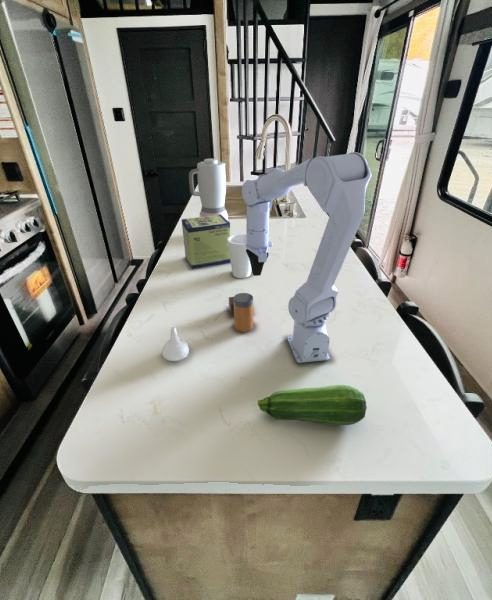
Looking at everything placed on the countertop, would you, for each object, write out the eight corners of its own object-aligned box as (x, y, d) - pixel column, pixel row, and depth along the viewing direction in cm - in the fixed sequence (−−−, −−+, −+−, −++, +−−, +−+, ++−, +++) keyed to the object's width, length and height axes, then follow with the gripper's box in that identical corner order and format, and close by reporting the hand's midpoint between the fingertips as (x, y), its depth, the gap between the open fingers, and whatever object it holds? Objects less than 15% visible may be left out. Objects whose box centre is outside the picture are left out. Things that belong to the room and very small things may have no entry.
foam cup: (223, 276, 111) (221, 241, 104) (235, 265, 118) (235, 232, 111) (247, 282, 107) (248, 246, 100) (259, 271, 114) (260, 236, 107)
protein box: (231, 262, 120) (230, 222, 112) (191, 269, 115) (187, 228, 107) (222, 251, 128) (221, 213, 120) (184, 258, 123) (180, 218, 115)
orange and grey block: (227, 307, 90) (232, 289, 81) (244, 304, 91) (251, 286, 82) (236, 336, 86) (242, 322, 77) (253, 333, 87) (261, 318, 78)
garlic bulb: (163, 366, 74) (158, 339, 69) (162, 349, 79) (157, 323, 75) (191, 361, 75) (187, 334, 71) (187, 344, 80) (184, 318, 76)
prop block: (229, 308, 94) (228, 297, 92) (249, 306, 95) (249, 295, 92) (230, 316, 90) (230, 304, 88) (251, 314, 91) (251, 302, 89)
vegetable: (372, 395, 55) (257, 388, 57) (369, 434, 56) (256, 427, 58) (360, 380, 63) (258, 375, 64) (358, 415, 63) (257, 409, 65)
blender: (222, 230, 149) (219, 156, 132) (233, 239, 139) (231, 160, 122) (190, 236, 143) (182, 159, 126) (198, 245, 134) (192, 163, 117)
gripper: (279, 237, 77) (276, 285, 84) (266, 218, 89) (264, 262, 96) (251, 238, 76) (250, 288, 83) (241, 219, 88) (241, 264, 95)
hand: (256, 274), depth 90 cm, fingers closed
